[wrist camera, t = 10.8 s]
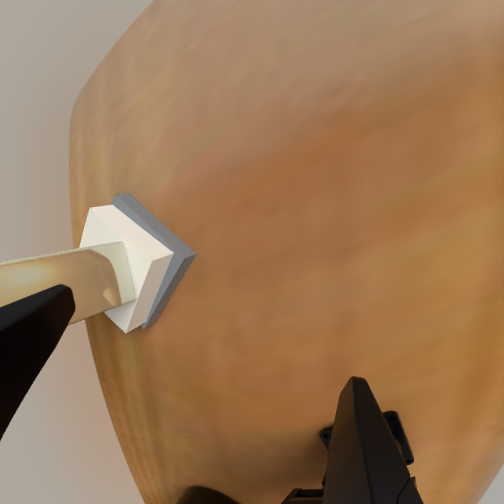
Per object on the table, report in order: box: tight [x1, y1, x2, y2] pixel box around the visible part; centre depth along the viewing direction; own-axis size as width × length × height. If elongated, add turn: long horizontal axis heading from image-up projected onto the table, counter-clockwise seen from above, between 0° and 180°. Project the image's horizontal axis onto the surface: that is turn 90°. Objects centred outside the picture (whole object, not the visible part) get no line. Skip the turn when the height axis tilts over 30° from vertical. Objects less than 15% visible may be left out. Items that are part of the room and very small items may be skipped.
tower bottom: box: [111, 193, 196, 329], centre depth 26 cm, size 8×8×2 cm
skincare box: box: [0, 241, 136, 326], centre depth 17 cm, size 6×4×12 cm
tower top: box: [79, 205, 174, 333], centre depth 24 cm, size 7×7×2 cm
